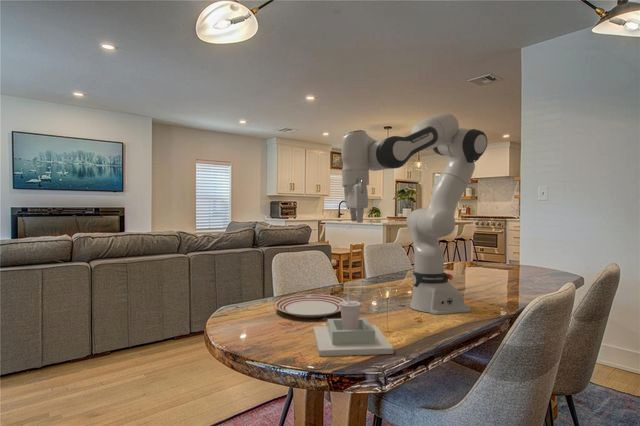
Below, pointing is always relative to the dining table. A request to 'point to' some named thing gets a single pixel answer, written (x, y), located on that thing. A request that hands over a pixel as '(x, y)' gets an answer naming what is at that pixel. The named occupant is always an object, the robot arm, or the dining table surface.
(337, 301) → the dinner plate
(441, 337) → the dining table surface
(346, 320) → the smoothie
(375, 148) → the robot arm
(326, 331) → the socket dock
